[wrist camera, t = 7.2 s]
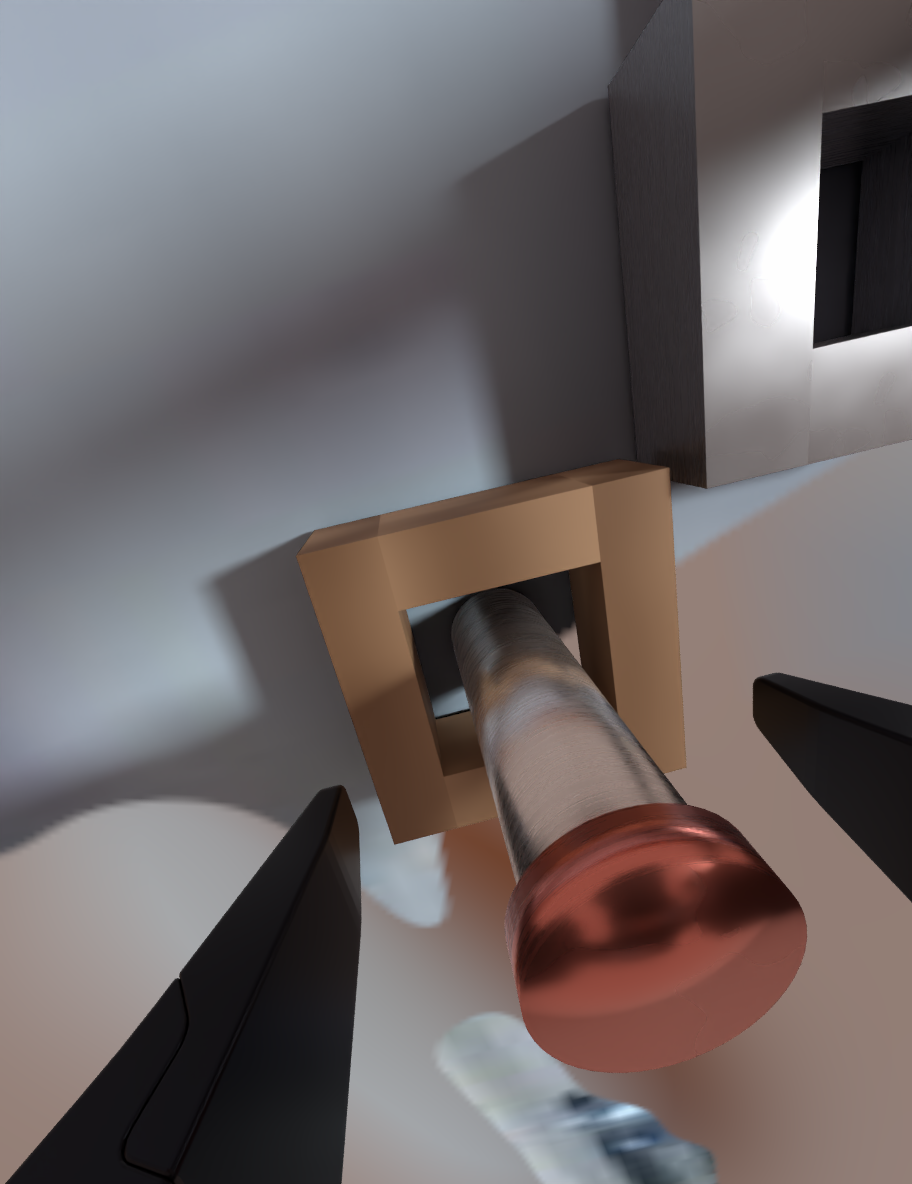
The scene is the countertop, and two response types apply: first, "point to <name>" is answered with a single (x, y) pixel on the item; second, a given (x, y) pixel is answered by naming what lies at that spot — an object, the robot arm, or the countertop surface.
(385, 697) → the frame
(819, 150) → the block
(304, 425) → the countertop surface
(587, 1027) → the hitch pin
